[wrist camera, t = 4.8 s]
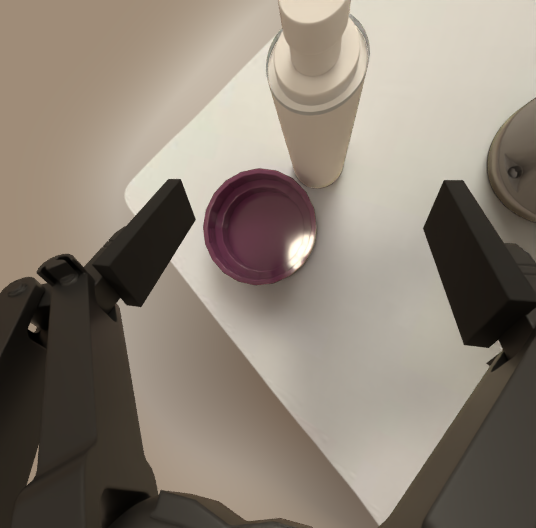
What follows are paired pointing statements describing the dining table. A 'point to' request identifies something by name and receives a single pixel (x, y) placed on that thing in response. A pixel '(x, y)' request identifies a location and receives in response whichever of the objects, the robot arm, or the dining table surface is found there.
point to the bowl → (260, 226)
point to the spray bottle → (317, 84)
